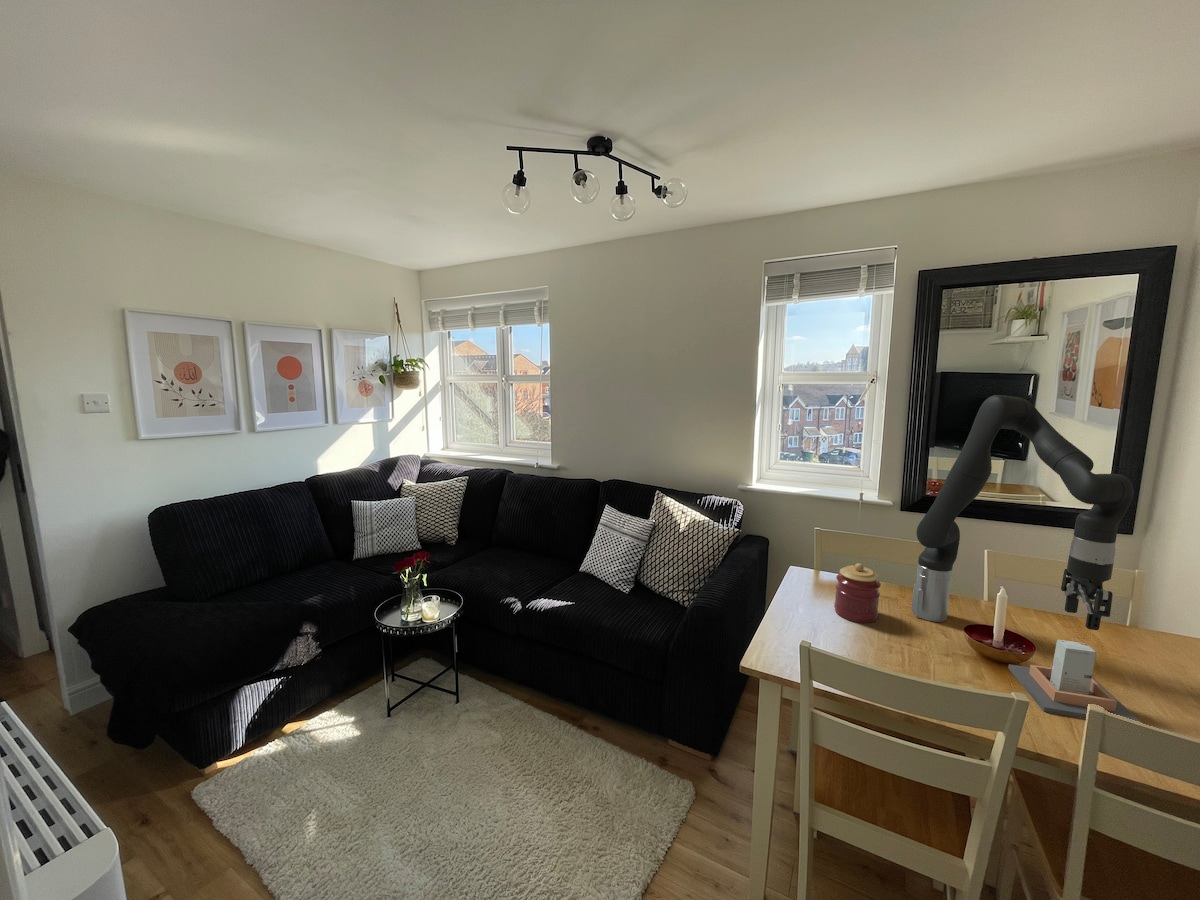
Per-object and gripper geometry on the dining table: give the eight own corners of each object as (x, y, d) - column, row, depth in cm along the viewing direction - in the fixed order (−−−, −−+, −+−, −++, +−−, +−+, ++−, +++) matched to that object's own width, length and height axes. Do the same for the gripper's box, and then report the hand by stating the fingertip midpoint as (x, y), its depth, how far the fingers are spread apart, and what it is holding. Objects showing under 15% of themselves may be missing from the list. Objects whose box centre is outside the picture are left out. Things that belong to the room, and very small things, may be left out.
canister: (879, 610, 165) (883, 561, 162) (876, 627, 154) (881, 574, 151) (836, 601, 172) (840, 553, 169) (831, 617, 161) (835, 566, 158)
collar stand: (1043, 711, 116) (1045, 697, 115) (1008, 668, 133) (1009, 655, 132) (1141, 728, 110) (1144, 713, 110) (1091, 680, 127) (1093, 667, 127)
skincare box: (1058, 693, 121) (1065, 648, 119) (1048, 682, 125) (1055, 638, 123) (1090, 698, 119) (1097, 652, 117) (1078, 687, 123) (1086, 642, 121)
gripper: (1054, 544, 124) (1045, 604, 126) (1090, 566, 110) (1079, 632, 113) (1092, 548, 121) (1082, 609, 124) (1132, 570, 108) (1120, 638, 111)
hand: (1080, 620), depth 118 cm, fingers open, 8 cm apart
